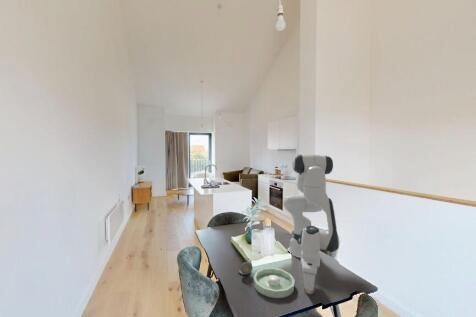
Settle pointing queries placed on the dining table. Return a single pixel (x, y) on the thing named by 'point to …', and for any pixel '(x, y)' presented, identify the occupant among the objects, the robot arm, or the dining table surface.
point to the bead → (309, 293)
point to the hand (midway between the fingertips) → (309, 288)
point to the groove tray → (274, 290)
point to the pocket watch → (245, 268)
